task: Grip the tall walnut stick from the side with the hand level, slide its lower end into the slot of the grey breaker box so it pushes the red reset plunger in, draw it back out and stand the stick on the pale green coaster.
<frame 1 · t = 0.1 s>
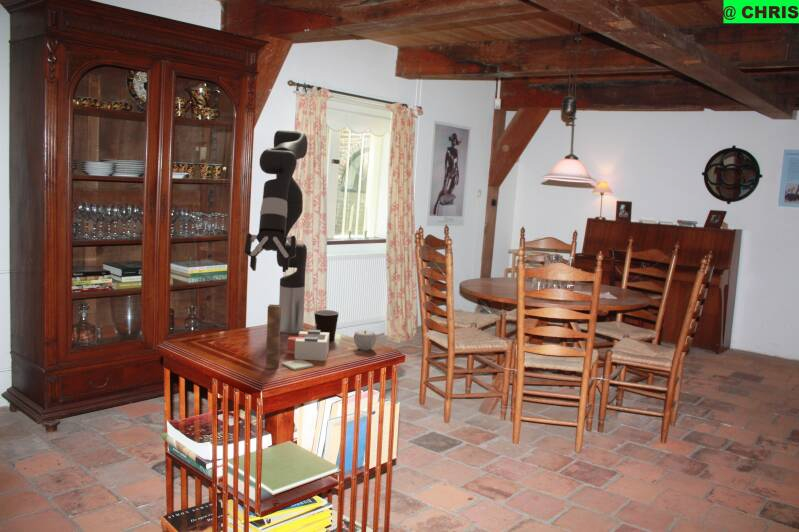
hand: (268, 270, 184), 31 cm above the table, tool tilted 20°, fingers open, 8 cm apart
coffee mug: (326, 339, 236), on the table
lidded sugar bowl: (364, 349, 225), on the table
breaker box: (312, 354, 215), on the table
coaster: (297, 365, 202), on the table
reset plunger: (297, 343, 214), point 3 cm above the table, slide at 0.0 cm
walnut stick: (272, 366, 199), on the table
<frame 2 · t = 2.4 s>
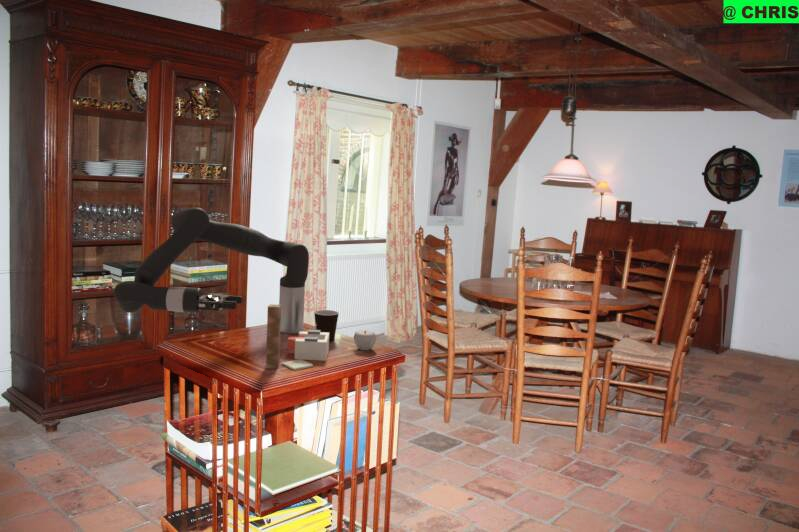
hand: (239, 302, 196), 19 cm above the table, tool horizontal, fingers open, 8 cm apart
nothing on the table moved.
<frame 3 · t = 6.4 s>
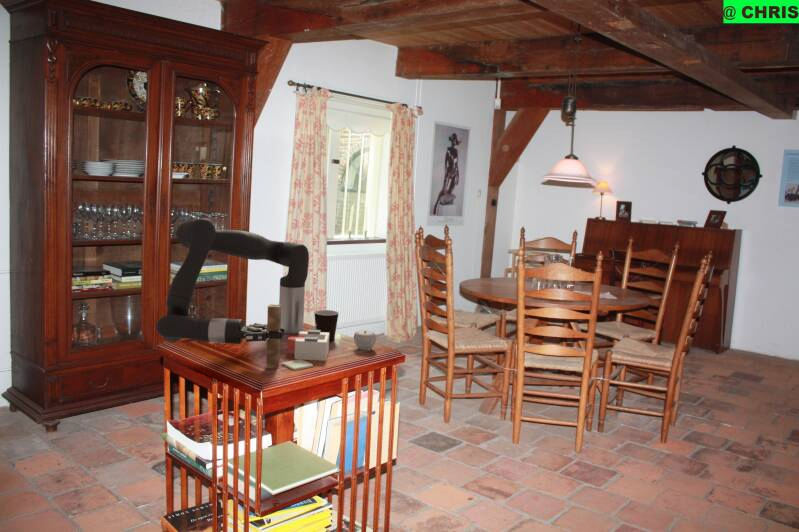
hand: (282, 333, 198), 11 cm above the table, tool horizontal, fingers closed on walnut stick, 3 cm apart
walnut stick: (272, 366, 199), on the table, touching gripper
everything else where it was.
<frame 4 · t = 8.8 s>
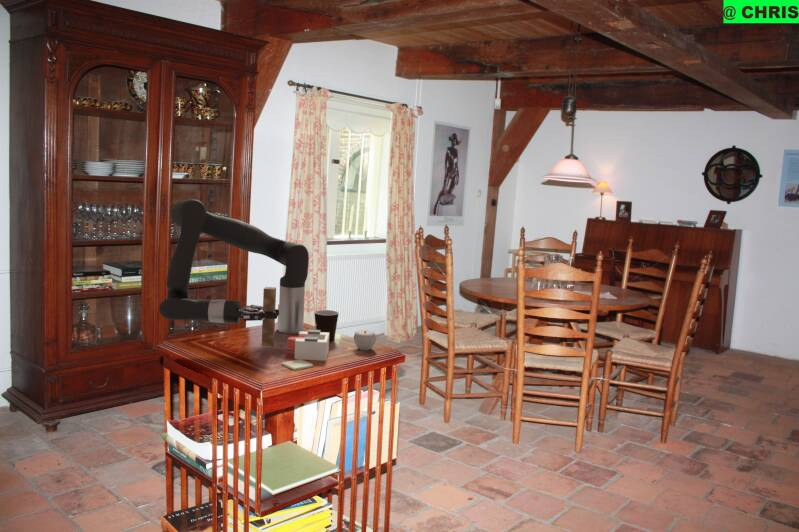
hand: (277, 314, 212), 13 cm above the table, tool horizontal, fingers closed on walnut stick, 3 cm apart
walnut stick: (267, 345, 213), point 3 cm above the table, touching gripper
everything else where it was.
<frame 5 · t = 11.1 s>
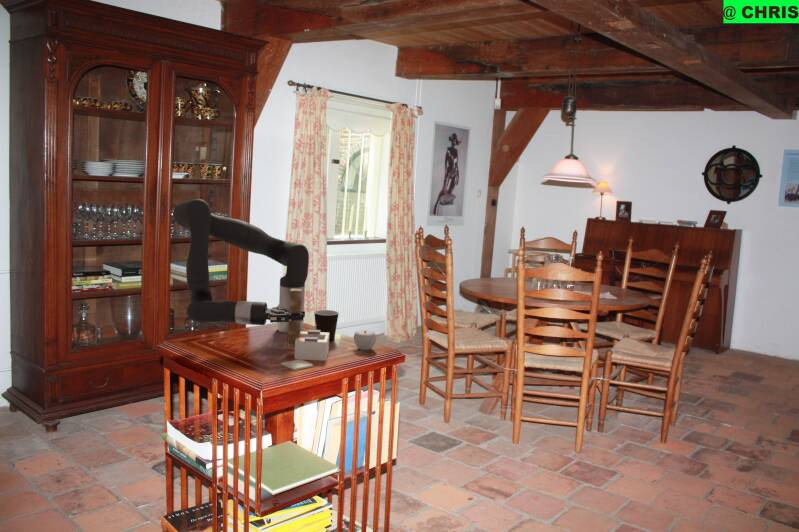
hand: (303, 315, 213), 13 cm above the table, tool horizontal, fingers closed on walnut stick, 3 cm apart
reset plunger: (308, 344, 214), point 3 cm above the table, slide at 3.7 cm, touching walnut stick
walnut stick: (293, 346, 214), point 2 cm above the table, touching gripper, reset plunger
everything else where it was.
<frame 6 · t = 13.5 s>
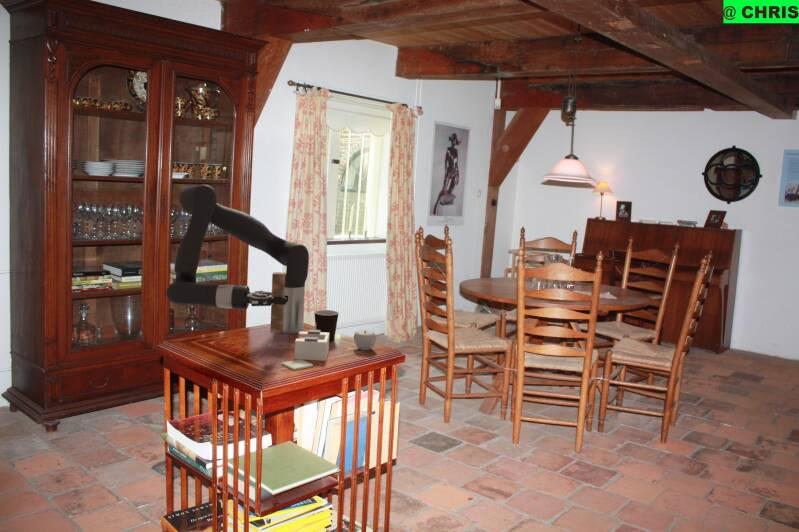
hand: (286, 299, 207), 19 cm above the table, tool horizontal, fingers closed on walnut stick, 3 cm apart
reset plunger: (308, 344, 214), point 3 cm above the table, slide at 3.8 cm
walnut stick: (276, 331, 208), point 8 cm above the table, touching gripper
everything else where it was.
when the fingers open (13 cm above the table, at t = 15.4 s): walnut stick drops 2 cm, resting on coaster.
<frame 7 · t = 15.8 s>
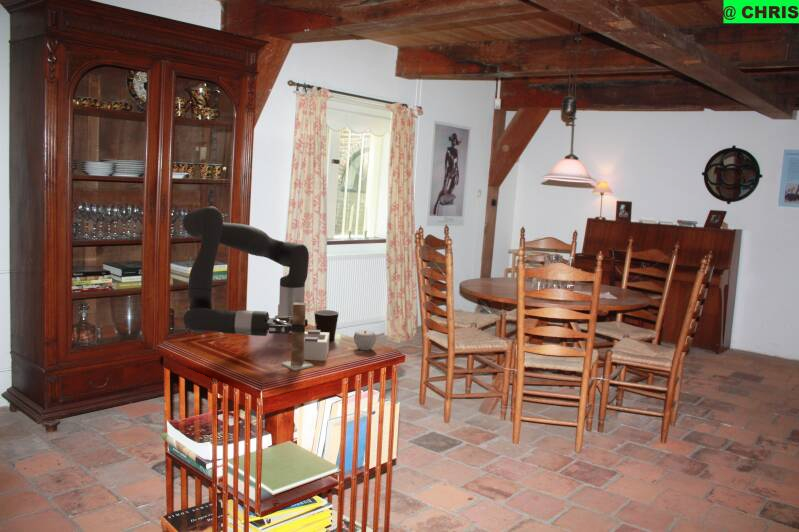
hand: (306, 325, 200), 13 cm above the table, tool horizontal, fingers open, 7 cm apart
walnut stick: (297, 363, 202), point 1 cm above the table, touching coaster
everything else where it was.
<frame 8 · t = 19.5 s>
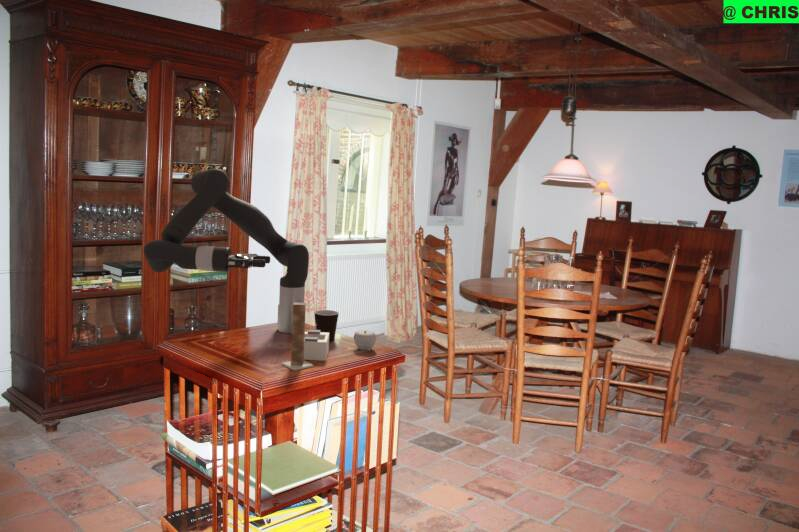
hand: (267, 261, 197), 32 cm above the table, tool horizontal, fingers open, 8 cm apart
nothing on the table moved.
at the end: reset plunger slide at 3.8 cm; walnut stick inside the target area on the coaster (0.1 cm from its centre), point 0.6 cm above the coaster's base; walnut stick tilted 0° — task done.
